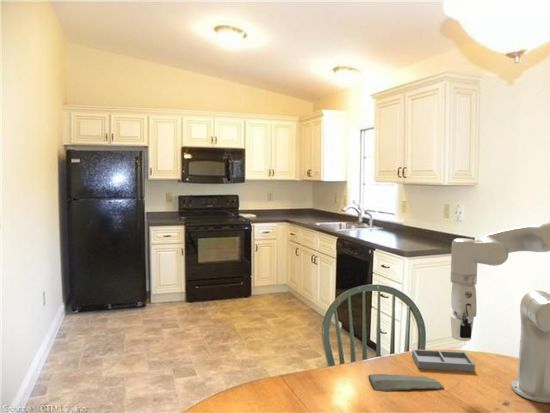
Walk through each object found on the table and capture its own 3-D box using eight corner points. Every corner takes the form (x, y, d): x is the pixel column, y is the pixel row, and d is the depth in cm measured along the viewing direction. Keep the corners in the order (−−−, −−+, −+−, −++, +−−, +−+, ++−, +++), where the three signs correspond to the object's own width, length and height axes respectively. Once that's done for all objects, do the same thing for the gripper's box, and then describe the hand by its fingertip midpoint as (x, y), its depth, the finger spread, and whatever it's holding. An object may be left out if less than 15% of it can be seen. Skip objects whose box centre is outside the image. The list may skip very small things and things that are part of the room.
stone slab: (366, 380, 138) (375, 392, 128) (366, 372, 138) (375, 383, 128) (432, 380, 139) (446, 392, 129) (432, 372, 139) (446, 383, 129)
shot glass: (474, 336, 134) (475, 315, 133) (471, 343, 128) (472, 321, 127) (451, 331, 138) (452, 311, 137) (447, 338, 132) (448, 317, 131)
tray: (412, 355, 153) (412, 349, 153) (464, 358, 151) (465, 352, 151) (418, 368, 144) (418, 361, 143) (474, 371, 142) (475, 364, 142)
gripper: (487, 286, 122) (484, 345, 124) (466, 271, 139) (464, 323, 141) (460, 285, 123) (458, 344, 124) (443, 271, 140) (441, 322, 142)
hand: (461, 332), depth 133 cm, fingers closed on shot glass, 6 cm apart
